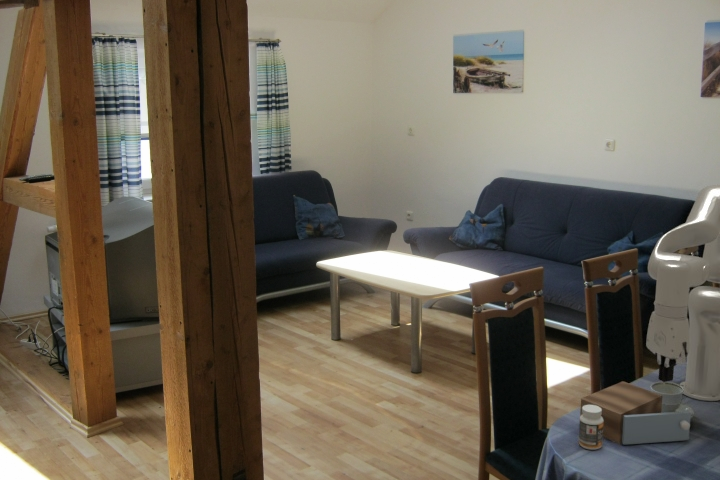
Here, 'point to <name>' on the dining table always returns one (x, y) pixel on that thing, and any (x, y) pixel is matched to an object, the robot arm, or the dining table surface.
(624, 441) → the door
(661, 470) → the dining table surface
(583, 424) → the pill bottle
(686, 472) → the dining table surface
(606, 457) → the dining table surface
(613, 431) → the cabinet
